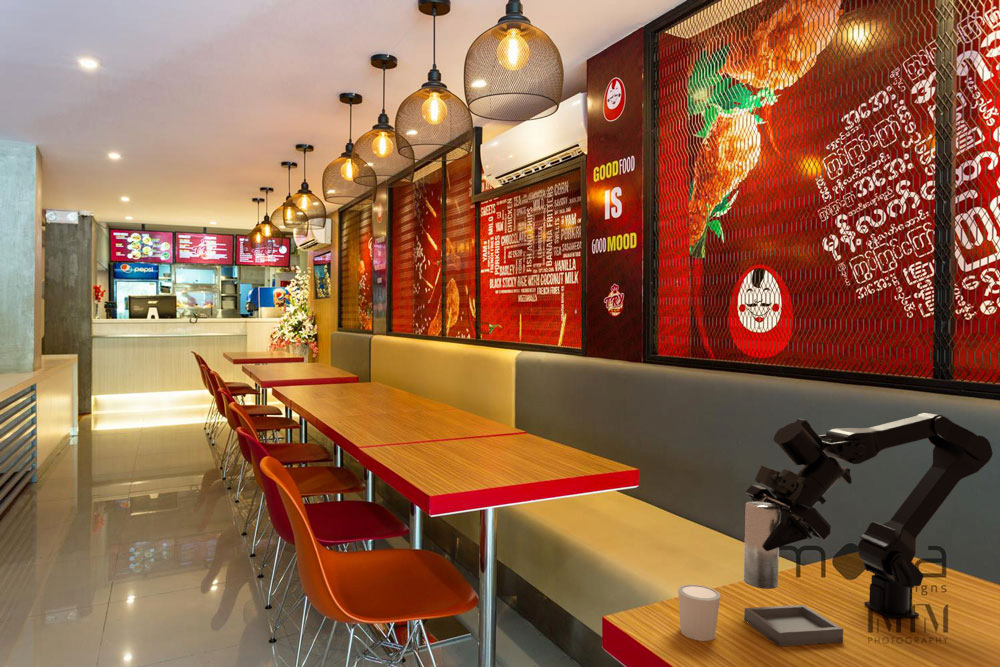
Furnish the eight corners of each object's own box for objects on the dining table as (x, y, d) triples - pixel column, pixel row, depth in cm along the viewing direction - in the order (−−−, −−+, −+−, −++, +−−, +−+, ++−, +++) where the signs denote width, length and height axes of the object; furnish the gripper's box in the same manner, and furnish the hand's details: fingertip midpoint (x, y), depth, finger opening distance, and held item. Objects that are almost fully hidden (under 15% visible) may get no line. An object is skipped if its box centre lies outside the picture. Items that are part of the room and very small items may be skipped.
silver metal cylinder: (763, 575, 120) (765, 501, 121) (785, 587, 115) (787, 509, 115) (736, 578, 119) (739, 502, 119) (757, 590, 113) (759, 510, 113)
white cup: (722, 645, 104) (723, 601, 104) (678, 639, 106) (679, 596, 106) (716, 627, 111) (717, 586, 111) (675, 622, 112) (676, 582, 113)
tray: (803, 617, 117) (803, 604, 117) (842, 642, 107) (843, 628, 107) (744, 620, 114) (744, 608, 114) (778, 646, 105) (779, 632, 105)
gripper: (756, 443, 127) (702, 499, 125) (817, 461, 109) (755, 527, 107) (791, 483, 128) (738, 539, 126) (857, 507, 110) (797, 574, 108)
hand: (754, 543), depth 117 cm, fingers closed on silver metal cylinder, 6 cm apart
